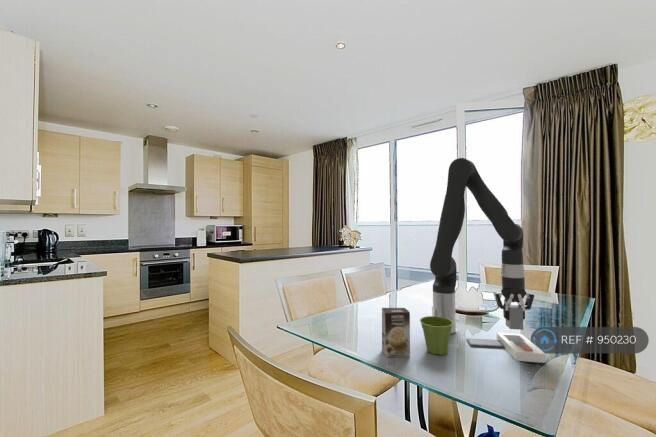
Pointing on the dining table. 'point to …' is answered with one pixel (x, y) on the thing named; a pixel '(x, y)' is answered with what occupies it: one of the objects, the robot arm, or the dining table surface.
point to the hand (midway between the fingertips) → (514, 319)
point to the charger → (515, 317)
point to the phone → (485, 343)
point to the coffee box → (396, 332)
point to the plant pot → (436, 333)
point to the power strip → (521, 347)
